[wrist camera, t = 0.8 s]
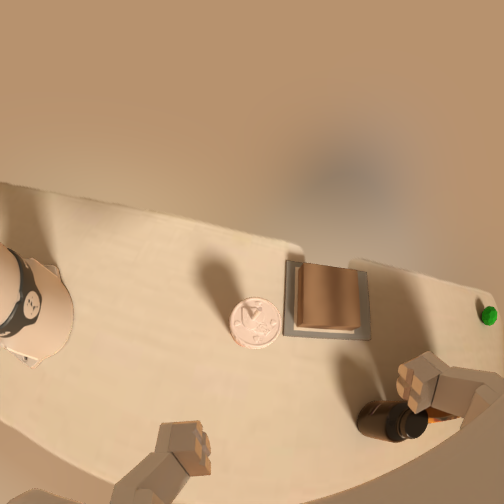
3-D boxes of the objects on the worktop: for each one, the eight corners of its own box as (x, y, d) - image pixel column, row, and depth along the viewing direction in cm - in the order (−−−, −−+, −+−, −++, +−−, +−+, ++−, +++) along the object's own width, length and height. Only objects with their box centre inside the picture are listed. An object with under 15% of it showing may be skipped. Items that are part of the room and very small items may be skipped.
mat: (283, 335, 41) (284, 335, 41) (286, 261, 47) (287, 260, 47) (369, 340, 43) (371, 339, 43) (365, 272, 49) (366, 271, 49)
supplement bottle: (363, 396, 38) (409, 394, 28) (392, 405, 38) (438, 403, 27) (349, 433, 35) (393, 442, 24) (379, 439, 35) (425, 447, 24)
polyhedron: (486, 311, 51) (499, 305, 47) (487, 328, 48) (500, 323, 44) (478, 308, 50) (490, 302, 46) (479, 326, 48) (492, 321, 44)
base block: (296, 327, 42) (303, 323, 39) (298, 269, 46) (303, 262, 44) (351, 330, 43) (360, 326, 40) (349, 276, 48) (357, 270, 45)
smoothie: (245, 306, 42) (262, 272, 30) (274, 335, 41) (304, 313, 29) (215, 334, 40) (220, 311, 27) (245, 364, 38) (264, 355, 26)
